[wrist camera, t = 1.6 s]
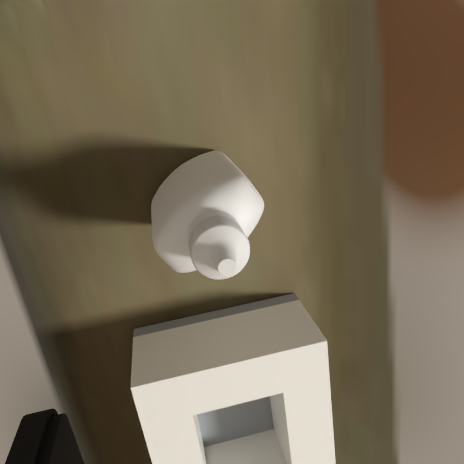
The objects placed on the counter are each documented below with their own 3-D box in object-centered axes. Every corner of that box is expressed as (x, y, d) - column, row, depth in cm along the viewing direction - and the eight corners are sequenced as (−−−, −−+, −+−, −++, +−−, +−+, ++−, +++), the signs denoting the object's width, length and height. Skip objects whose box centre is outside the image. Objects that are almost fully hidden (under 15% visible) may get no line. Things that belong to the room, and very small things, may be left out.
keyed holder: (133, 328, 29) (130, 387, 24) (294, 293, 31) (326, 340, 25) (172, 474, 35) (177, 550, 29) (308, 437, 36) (338, 503, 30)
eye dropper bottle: (241, 212, 28) (303, 302, 17) (156, 228, 27) (162, 333, 16) (232, 146, 26) (295, 197, 15) (141, 161, 26) (138, 227, 15)
